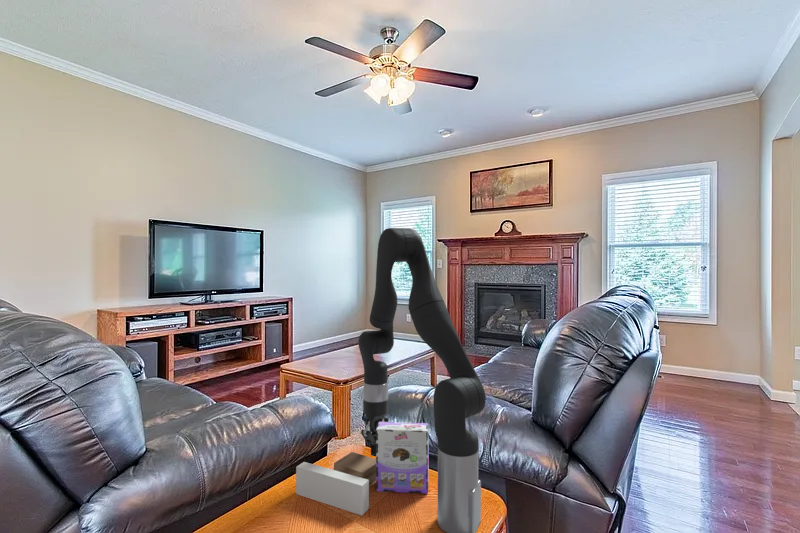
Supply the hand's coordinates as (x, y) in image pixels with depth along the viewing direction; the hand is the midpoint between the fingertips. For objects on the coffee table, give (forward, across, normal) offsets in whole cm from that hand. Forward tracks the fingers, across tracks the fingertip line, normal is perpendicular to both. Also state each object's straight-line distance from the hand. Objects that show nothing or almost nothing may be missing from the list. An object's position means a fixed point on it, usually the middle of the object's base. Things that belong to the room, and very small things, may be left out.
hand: (375, 455), depth 119 cm
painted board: (+2, -22, 0) cm, 22 cm away
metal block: (+3, -10, 0) cm, 10 cm away
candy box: (+3, -8, -13) cm, 15 cm away
